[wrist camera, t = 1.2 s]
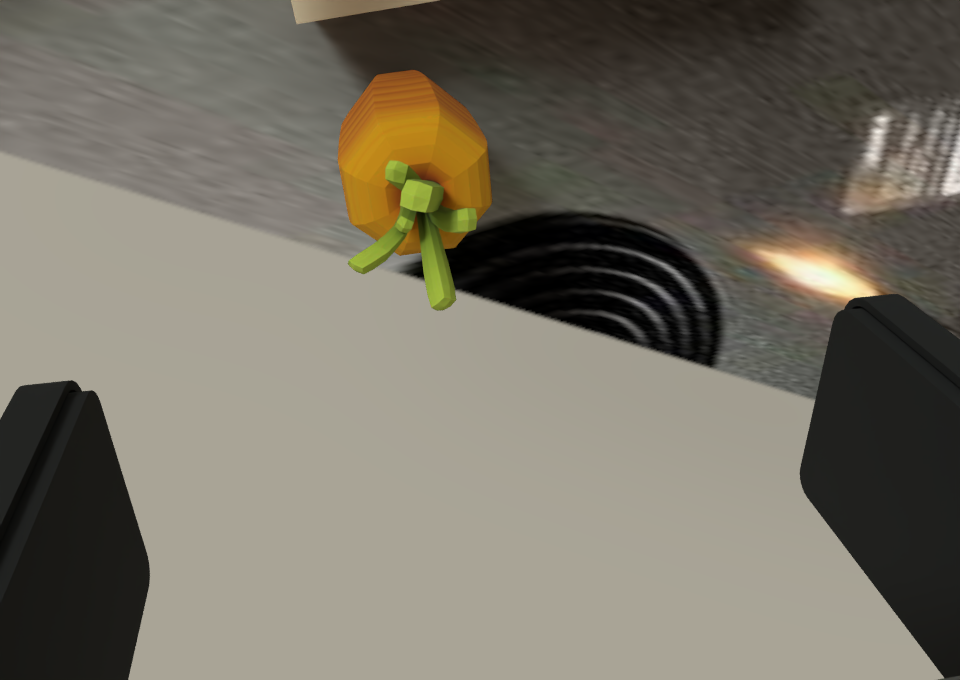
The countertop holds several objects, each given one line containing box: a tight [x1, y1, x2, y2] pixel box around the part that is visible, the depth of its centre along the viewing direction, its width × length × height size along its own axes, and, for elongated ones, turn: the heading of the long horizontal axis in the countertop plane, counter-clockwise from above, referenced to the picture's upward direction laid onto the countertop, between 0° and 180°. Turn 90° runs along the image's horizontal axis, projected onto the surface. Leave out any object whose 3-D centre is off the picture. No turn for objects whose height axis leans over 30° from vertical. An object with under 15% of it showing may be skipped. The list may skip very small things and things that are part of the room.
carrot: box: [338, 70, 492, 310], centre depth 28 cm, size 5×5×15 cm
